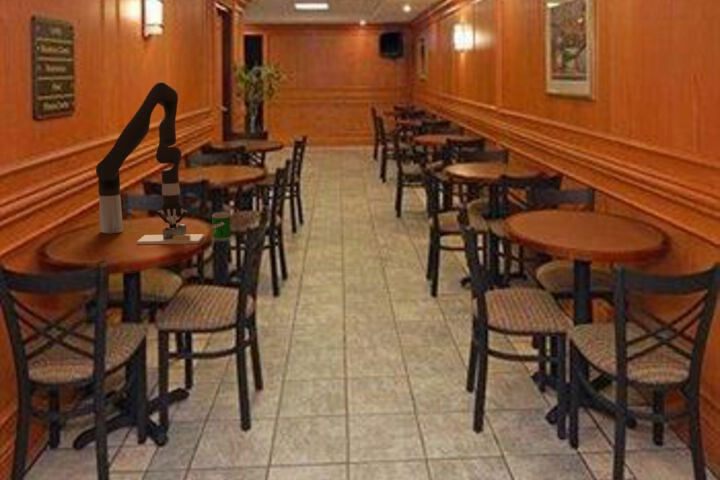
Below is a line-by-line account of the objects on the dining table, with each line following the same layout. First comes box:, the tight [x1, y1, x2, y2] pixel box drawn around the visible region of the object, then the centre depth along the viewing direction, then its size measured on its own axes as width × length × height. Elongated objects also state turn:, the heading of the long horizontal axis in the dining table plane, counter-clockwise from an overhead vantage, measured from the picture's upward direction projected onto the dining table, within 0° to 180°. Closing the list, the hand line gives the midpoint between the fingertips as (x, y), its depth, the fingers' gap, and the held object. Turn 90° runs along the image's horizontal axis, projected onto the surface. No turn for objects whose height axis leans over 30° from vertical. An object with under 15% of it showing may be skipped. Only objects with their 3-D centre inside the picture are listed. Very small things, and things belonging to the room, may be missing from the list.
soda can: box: [211, 211, 232, 242], centre depth 330 cm, size 8×8×12 cm
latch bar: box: [162, 223, 187, 239], centre depth 332 cm, size 12×4×4 cm, turn 145°
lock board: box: [136, 233, 205, 245], centre depth 331 cm, size 26×13×3 cm, turn 91°
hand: (173, 232), depth 337 cm, fingers closed
